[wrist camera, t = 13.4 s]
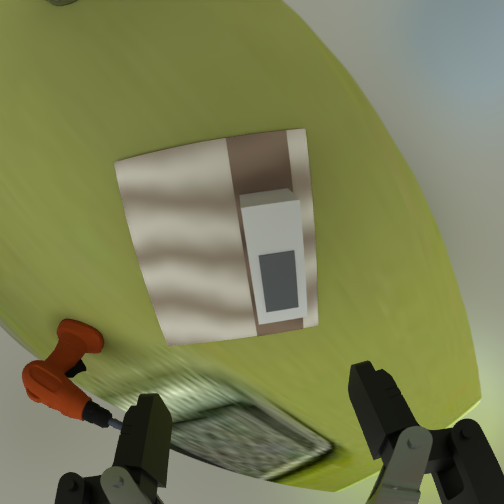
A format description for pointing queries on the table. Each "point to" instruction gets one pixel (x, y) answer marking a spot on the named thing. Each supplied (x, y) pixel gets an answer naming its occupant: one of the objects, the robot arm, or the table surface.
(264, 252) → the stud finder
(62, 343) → the toy drill
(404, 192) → the table surface
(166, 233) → the subfloor panel
